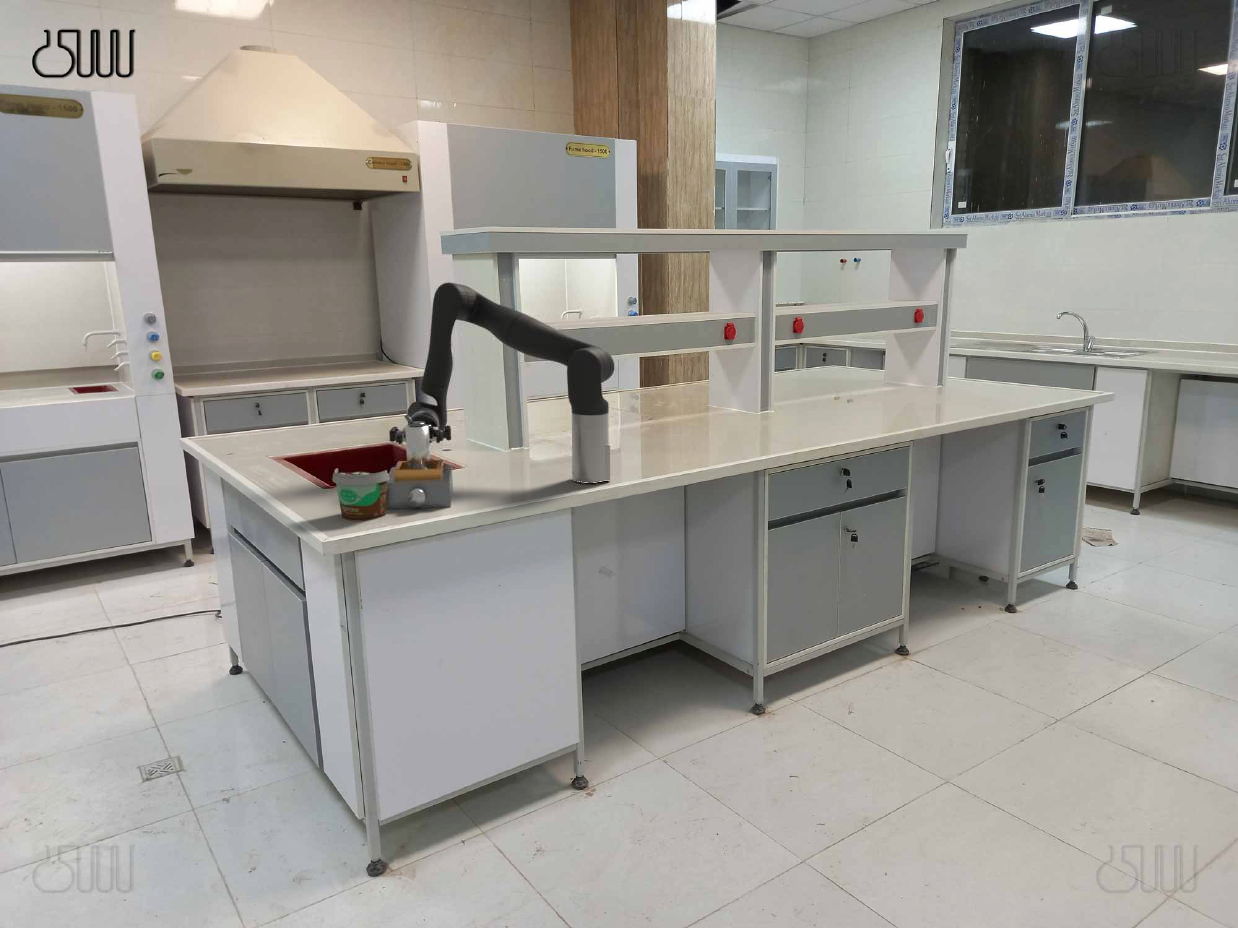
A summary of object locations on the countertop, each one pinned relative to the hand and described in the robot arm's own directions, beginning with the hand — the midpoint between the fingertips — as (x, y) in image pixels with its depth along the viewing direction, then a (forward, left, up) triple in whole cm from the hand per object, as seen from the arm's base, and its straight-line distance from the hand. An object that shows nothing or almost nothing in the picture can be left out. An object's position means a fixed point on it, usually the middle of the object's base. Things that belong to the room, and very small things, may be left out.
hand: (419, 439), depth 197 cm
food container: (+12, +17, -14) cm, 25 cm away
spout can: (0, +3, -7) cm, 8 cm away
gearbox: (0, +5, -13) cm, 14 cm away
